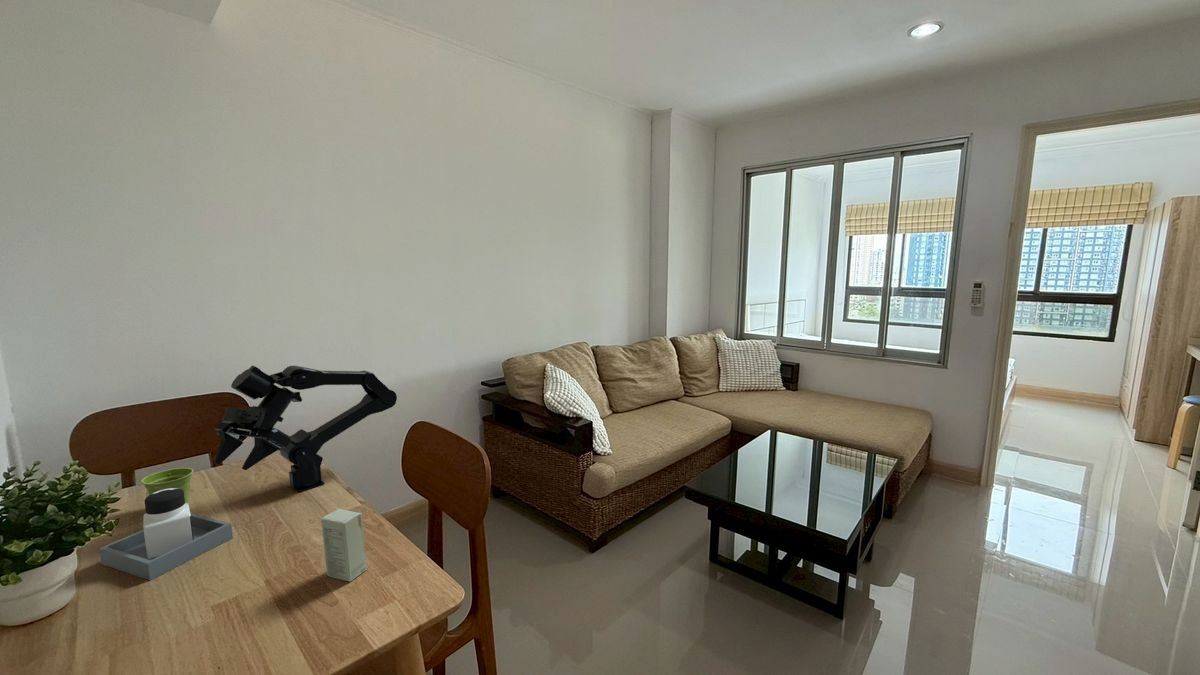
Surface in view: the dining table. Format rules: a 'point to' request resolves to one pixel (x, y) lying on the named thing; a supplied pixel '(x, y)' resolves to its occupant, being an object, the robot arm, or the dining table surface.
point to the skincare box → (344, 544)
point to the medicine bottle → (166, 522)
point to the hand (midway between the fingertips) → (229, 466)
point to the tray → (134, 559)
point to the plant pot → (169, 481)
